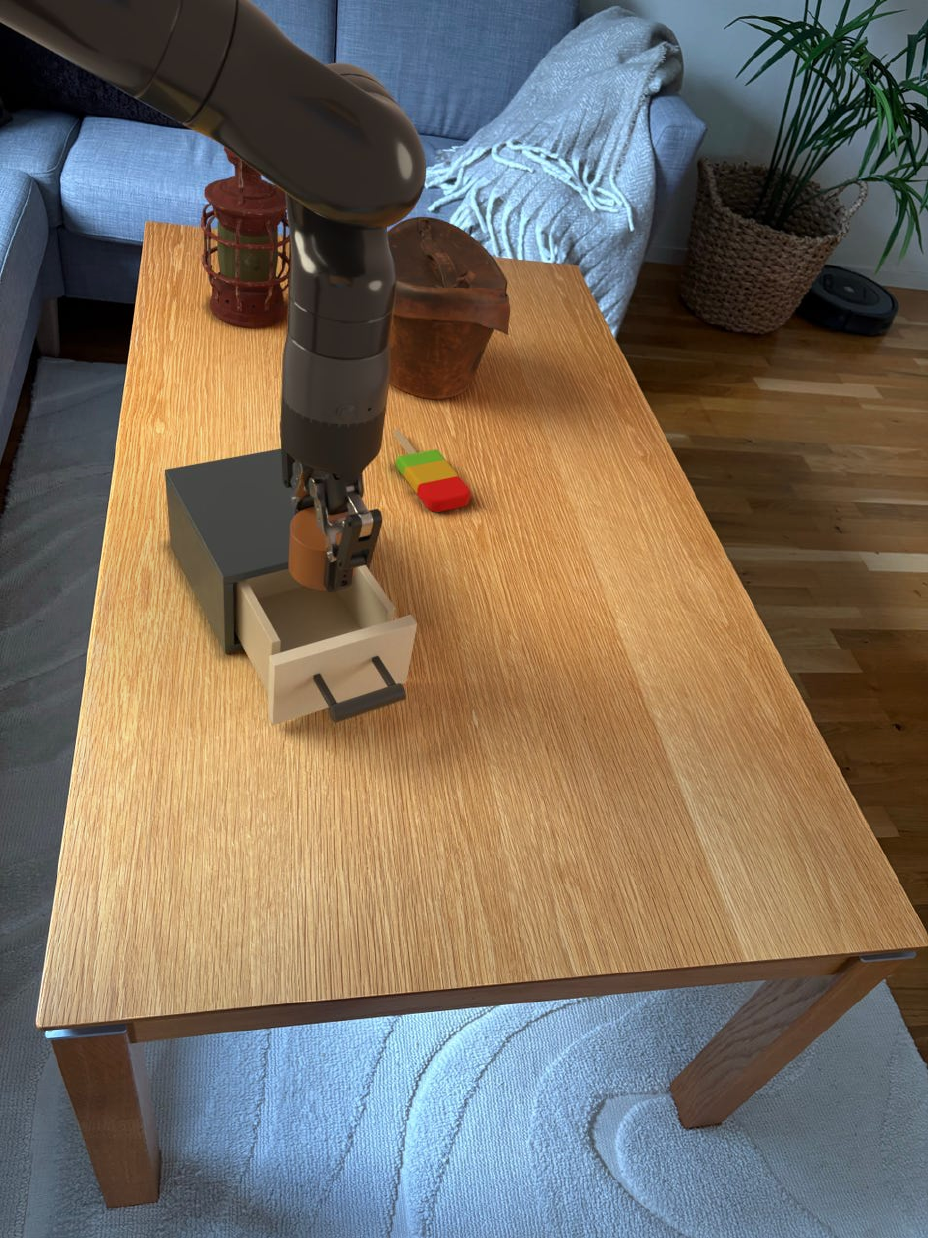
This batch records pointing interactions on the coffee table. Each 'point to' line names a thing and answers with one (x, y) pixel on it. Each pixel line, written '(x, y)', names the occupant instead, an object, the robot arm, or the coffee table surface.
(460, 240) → the case
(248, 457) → the cabinet
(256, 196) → the lantern
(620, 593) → the coffee table surface
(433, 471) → the popsicle
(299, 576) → the orange brown cylinder
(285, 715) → the drawer
